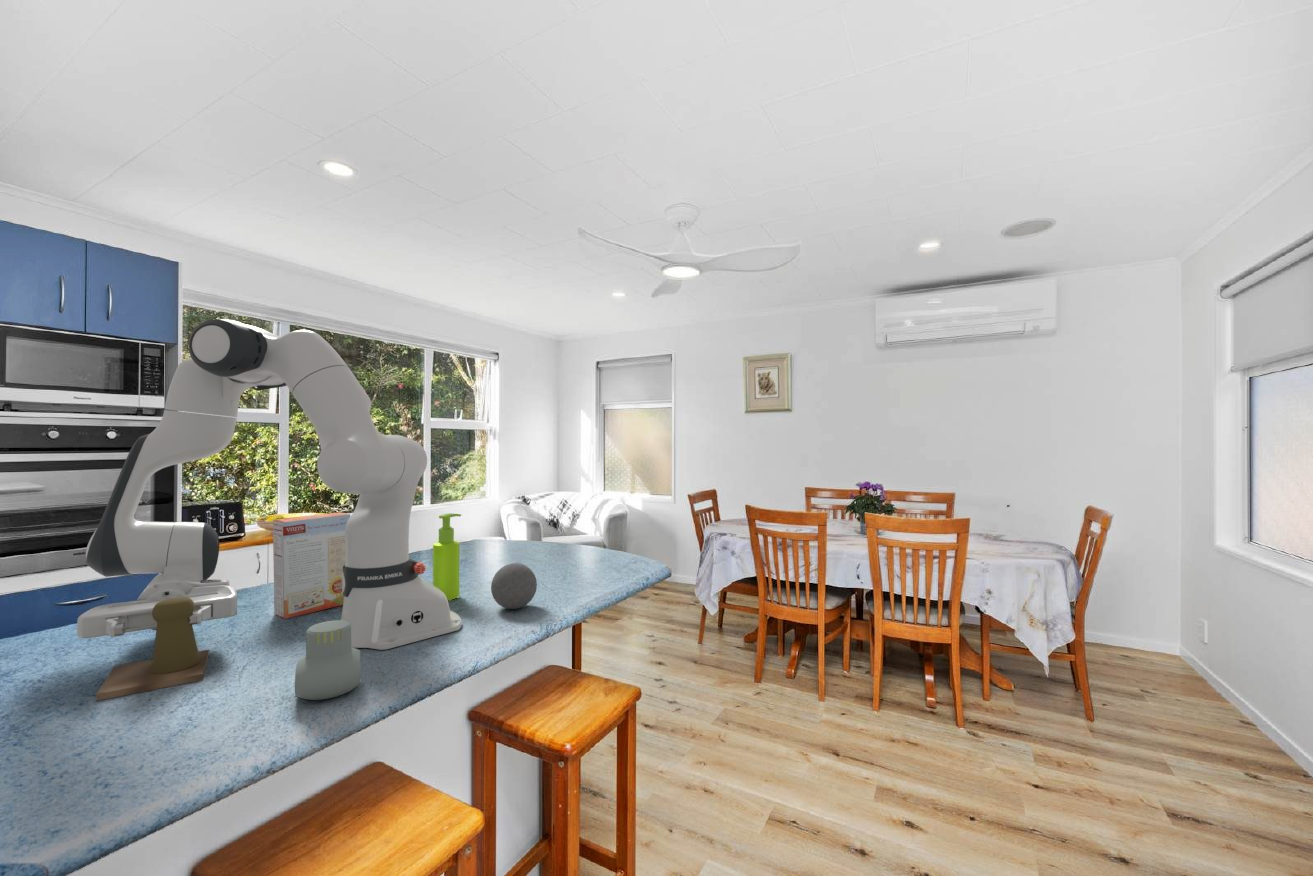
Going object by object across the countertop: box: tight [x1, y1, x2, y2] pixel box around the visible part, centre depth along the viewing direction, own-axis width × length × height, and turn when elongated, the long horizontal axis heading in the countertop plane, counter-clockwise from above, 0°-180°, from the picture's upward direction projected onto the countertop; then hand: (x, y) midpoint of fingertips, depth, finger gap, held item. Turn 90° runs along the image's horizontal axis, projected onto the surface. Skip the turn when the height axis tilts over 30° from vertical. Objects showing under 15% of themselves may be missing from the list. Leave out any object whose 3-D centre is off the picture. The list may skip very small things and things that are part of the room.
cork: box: [151, 597, 200, 674], centre depth 90 cm, size 6×6×11 cm
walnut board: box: [96, 649, 210, 701], centre depth 89 cm, size 12×12×1 cm
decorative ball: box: [490, 562, 538, 610], centre depth 125 cm, size 10×10×10 cm
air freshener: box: [294, 619, 362, 701], centre depth 84 cm, size 11×8×10 cm
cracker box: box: [272, 511, 351, 620], centre depth 124 cm, size 14×6×21 cm, turn 144°
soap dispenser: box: [432, 513, 462, 601], centre depth 133 cm, size 6×7×20 cm
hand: (157, 625), depth 88 cm, fingers open, 8 cm apart
